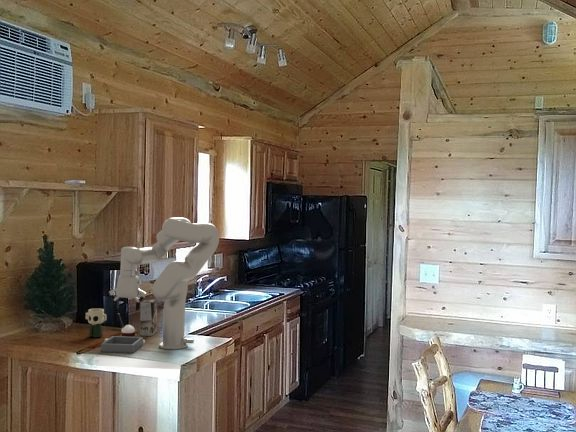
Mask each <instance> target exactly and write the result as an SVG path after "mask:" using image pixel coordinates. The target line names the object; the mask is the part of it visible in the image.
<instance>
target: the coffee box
mask: <svg viewBox="0 0 576 432" xmlns="http://www.w3.org/2000/svg"><path fill="white" fill-rule="evenodd" d="M139 317H140V318H139V319H140V321H139V323H140V324H139V336H143V337H144V336H146V337H147V336H148V337H150V336H151V337H152V336H154V335H156V333H157V332H158V331H157V330H158V328H157V327H158V326H157V325H158V299H143V300H142V301H140V316H139Z"/></svg>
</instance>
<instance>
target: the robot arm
mask: <svg viewBox="0 0 576 432" xmlns="http://www.w3.org/2000/svg"><path fill="white" fill-rule="evenodd" d="M155 237H156V242H155V243H154V244H152V245H151V246H148V247H139V248H137V247H136V246H123V247H122V248H121V249H120V251H121V252H120V270H119V271H120V272H119V275H118V278H117V284H116V288H114V289H111V290H109V291H108V292H109V295H110V298H112V300H113V301H114V302H113V303H114V308H115V310H116V311H117V310H119V308H120V300H119V299H120V298H122V299H123V298H125V299H134V300H135V301H136V302H135V311H136V312H138V311H139V310H141V302H142V301H144V300H145V297H146V296H147V292H146V291H144V290H142V289H140V286H141V285H140V277H139V276H138V275H140V274H141V272H140V271H138V266H140V265H147V264H154V263H155V262H158V261H159V260H160V259H162V258H163V257H164V256H166V255H167V254H168V252H169V251H170V248H171V247H173V246H175V244H177V243H178V242H184V243H188V244H196V245H195V246H193V248H192V249H191V250H190V251H189V252H188V253H187V255H186V256H185V257H184V258H181V259H177V260H173V261H171V262H169V263H168V264H167V265H166V266H165V267H164V269H162V272H161V273H160V274H159V275H158V277H157V278H156V279H155V281H154V283H153V285H152V289H151V290H152V295H153V297H154V298H156V300H159V301H164V304H163V310H162V311H163V314H162V315H163V317H162V319H163V323H162V341H161V342H160V343H159V344H158V346H159V348H161V349H165V350H180V349H185V348H187V347H188V344H194V342H195V339H193V338H192V337H191V338H188V337H187V334H185V323H186V300H187V295H188V289H189V288H188V281H191V280H193V279H194V278H195V277H197V275H198V273H200V271H201V269H203V267H204V266H205V264H206V263H207V262H208V260H209V259H210V258H211V257H212V256H213V255H214V254H215V252H216V250H217V249H218V246H219V243H220V242H219V241H220V234H219V230H218V229H217V227H216V226H215V225H214V224H212V223H208V222H196V223H192V222H191V221H190V220H189V219H188V218H186V217H169V218H167V219H166V220H165V221H164V222H163V224H162V227H161V230H160V231H159V232H157V233H156V236H155ZM140 294H141V296H140Z"/></svg>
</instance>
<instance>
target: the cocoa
mask: <svg viewBox="0 0 576 432" xmlns="http://www.w3.org/2000/svg"><path fill="white" fill-rule="evenodd" d="M117 317H118V320H119V323H120V325H121V333H120V334H121V336H125V337H139V332H138V331H136V328H135V327H134V326H133V325H131V324H126V325H124V322H123V321H122V317H121V314H120V312H119V313H117ZM136 334H137V335H136ZM135 335H136V336H135Z"/></svg>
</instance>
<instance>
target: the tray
mask: <svg viewBox="0 0 576 432" xmlns="http://www.w3.org/2000/svg"><path fill="white" fill-rule="evenodd" d="M107 339H108V340H106V341H105V340H104V341H103V342H101V343H100V353H115V354H116V353H117V354H135V353H136V352H137V351H138V350H139V349H140V348H141V347H143V346H144V344H143V340H144V336H137V337H136V336H134V337H125V336H122V335H120V336H119V335H117V336H116V335H112V336H110V337H109V338H107Z"/></svg>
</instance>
